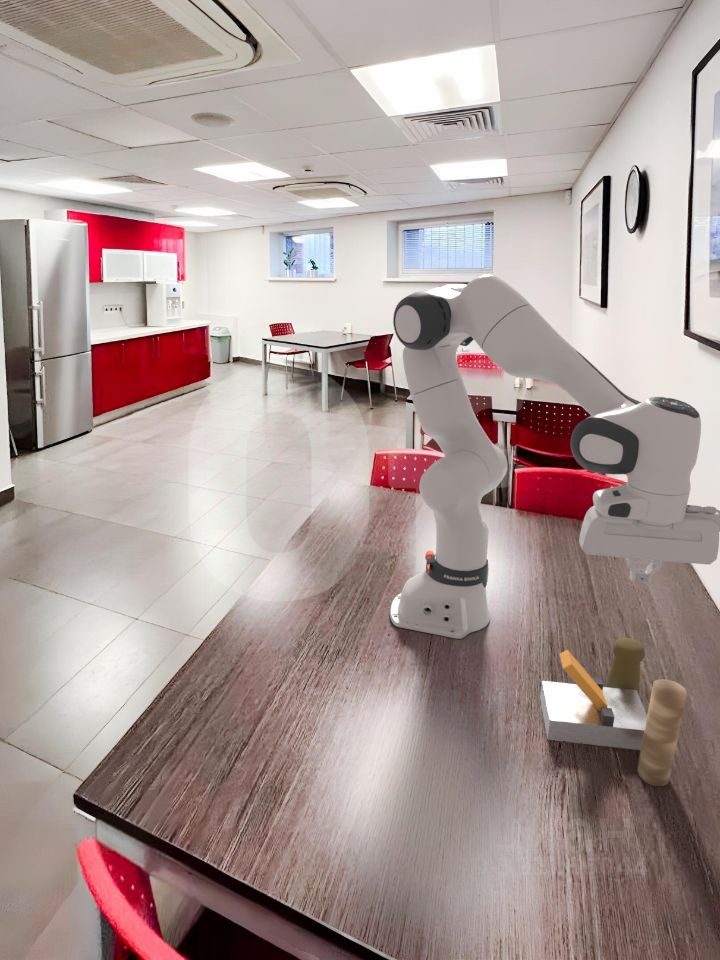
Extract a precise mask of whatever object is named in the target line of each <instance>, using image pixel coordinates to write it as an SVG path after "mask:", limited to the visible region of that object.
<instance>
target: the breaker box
mask: <svg viewBox="0 0 720 960" xmlns="http://www.w3.org/2000/svg"><path fill="white" fill-rule="evenodd" d="M590 677H591V678H592V679H593V680H594V681H595V683H596V684H597V685H598V686H599V687H600V688H601V690H602V691H603V694H604V697H605V700H606V703H607V706H608V707H607V708H604V707H601V711H599V710H598V709H597V708H596V707H595V705H594V704H593V703H592V702H591V701H590V700H589V698H588V697H587V696H586V695H585V694H584V693H583V691H582V690H581V689H580V688H579V687H578V685H577V684H576V683H568V682H567V683H566V682H556V681H548V680H546V681H545V680H542V681H541V687H540V688H541V690H540V696H539V697H540V698H539V701H541V702H540V706H541V710H542V712H543V713H542V718H543V724H544V723H545V724H544V727H545V734H547V735H546V739H548V741H554V740H555V741H556V742H563V741H565V743H573V744H574V743H575V744H581V743H582V745H589V744H590V745H591V746H600V747H608V748H618V749H625V750H627V749H628V750H635V751H641V747H642V741H643V736H644V731H645V725H646V720H647V714H648V713H647V711H646V709H645V707H644V704H643V702H642V700H641V697H639V695H638V692H637V690H629V689H619V688H609V687H605V686H604V682H603V679H602V677H601V676H593V675H590ZM555 741H554V742H555Z"/></svg>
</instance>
